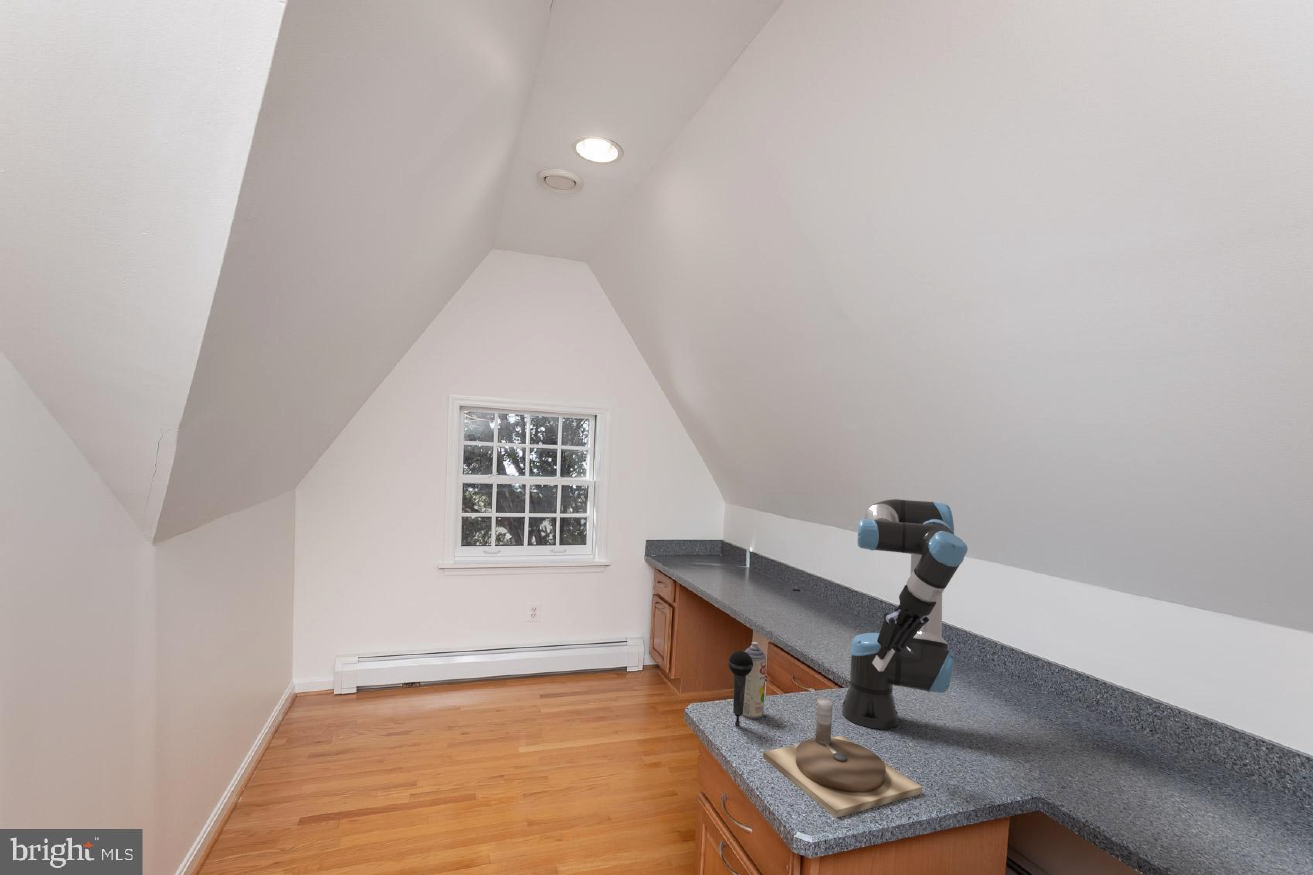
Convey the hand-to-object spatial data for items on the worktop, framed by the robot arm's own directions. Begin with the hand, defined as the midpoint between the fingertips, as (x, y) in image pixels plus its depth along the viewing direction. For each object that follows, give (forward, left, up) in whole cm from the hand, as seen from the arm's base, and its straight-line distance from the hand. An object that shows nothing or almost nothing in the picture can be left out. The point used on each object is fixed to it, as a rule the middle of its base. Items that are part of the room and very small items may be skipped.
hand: (877, 666), depth 147 cm
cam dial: (+14, +3, -21) cm, 25 cm away
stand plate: (+14, +3, -23) cm, 27 cm away
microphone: (+23, -26, -23) cm, 41 cm away
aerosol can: (+15, -31, -23) cm, 41 cm away
